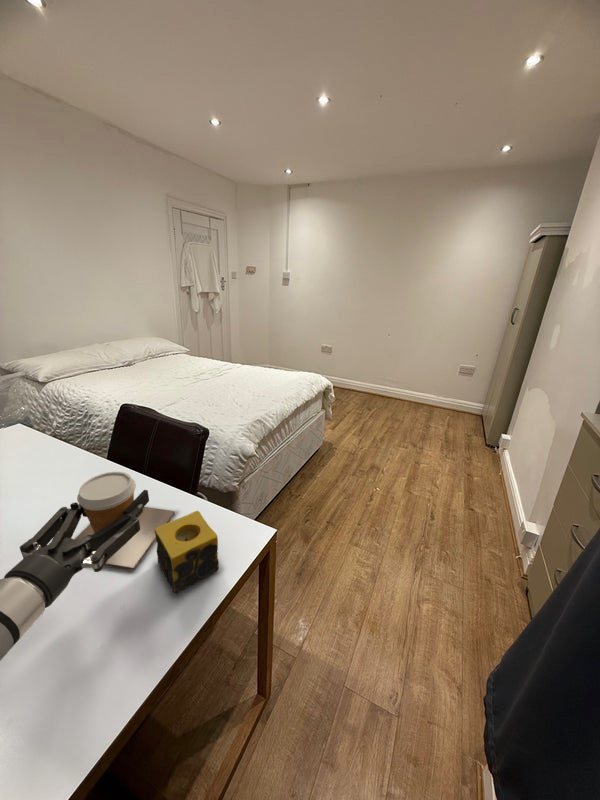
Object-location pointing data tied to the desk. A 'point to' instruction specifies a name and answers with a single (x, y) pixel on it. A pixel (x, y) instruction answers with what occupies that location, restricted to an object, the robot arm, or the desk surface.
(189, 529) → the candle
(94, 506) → the disposable coffee cup
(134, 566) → the placemat
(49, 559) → the robot arm
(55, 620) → the desk surface
